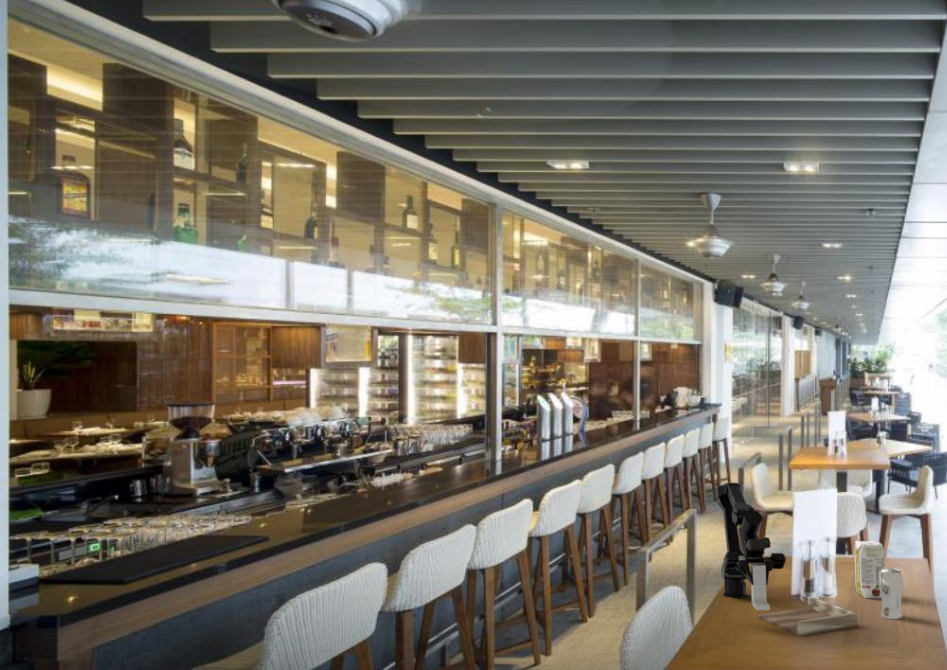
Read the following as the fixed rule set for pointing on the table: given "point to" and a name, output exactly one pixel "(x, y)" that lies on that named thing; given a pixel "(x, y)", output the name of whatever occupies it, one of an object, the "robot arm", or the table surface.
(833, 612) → the corner board
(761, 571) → the aluminium bracket
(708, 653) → the table surface
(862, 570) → the juice carton
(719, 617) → the table surface
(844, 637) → the table surface
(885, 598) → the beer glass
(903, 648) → the table surface
